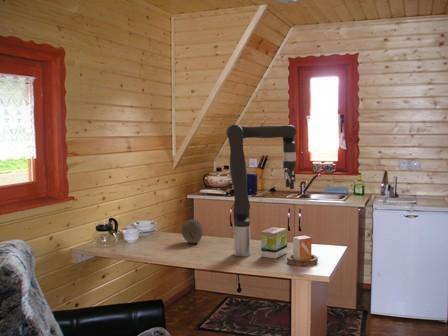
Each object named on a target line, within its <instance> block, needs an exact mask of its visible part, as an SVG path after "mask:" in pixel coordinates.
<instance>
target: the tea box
mask: <svg viewBox="0 0 448 336" xmlns="http://www.w3.org/2000/svg"><path fill="white" fill-rule="evenodd" d="M260 235H261V237H260V241H261V242H260V249H261V250H260V257H262V258H267V259H268V258H270V259H276V260H277V258H279V257H281V256H283V255H285V254H286V255H287V253H288V228H285V227H284V228H283V227H276V226H275V227H274V226H272V227H270V228H267V229H264V230H262V231H261V234H260Z"/></svg>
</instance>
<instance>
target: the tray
mask: <svg viewBox="0 0 448 336" xmlns="http://www.w3.org/2000/svg"><path fill="white" fill-rule="evenodd" d="M318 259H319V257H318V256H317V255H315V254H312V253H311V260H295V259H293V253H290V254H289V255H287V256H286V261H287V264H288V265H291V266H296V267H312V266H316V265H317V264H318Z"/></svg>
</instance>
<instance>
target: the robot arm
mask: <svg viewBox="0 0 448 336" xmlns="http://www.w3.org/2000/svg"><path fill="white" fill-rule="evenodd" d="M225 134H226V135H225V136H226V137H227V138H228V143H229V149H230V151H229V152H230V153H229V169H230V170H229V171H230V179H231V183H232V188H233V192H234V201H233V205H232V207H233V255H234V256H235V257H240V258H241V257H249V256H251V220H250V209H251V204H250V199H249V193H248V172H247V164H246V157H245V152H244V139H251V138H252V139H253V138H257V139H276V138H281V139H282V142H283V143H282V145H283V146H282V148H283V149H282V150H283V151H282V152H283V153H282V168H283V170H284V171H283V172H284V173H283V174H284V178H283V179H284V181H285V188H289V190H294V189H295V182H296V170H295V169H296V168H297V153H296V147H297V145H296V143H295V136H296V135H297V128H296V126H294V125H292V124H290V125H289V124H288V125H260V126H259V125H258V126H243V125H239V124H231V125H229V126H228V127H227V128H226V131H225Z"/></svg>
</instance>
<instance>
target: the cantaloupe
mask: <svg viewBox="0 0 448 336" xmlns="http://www.w3.org/2000/svg"><path fill="white" fill-rule="evenodd" d="M181 226H182V227H181V234H182V237H183V239H184V241H186V242H187V243H189V244H198V243H200V241H201V240H202V237H203V233H204V229H203V226H202V224H201V222H200V221H199V220H196V219H189V220H186V221H185V222H183V224H182V225H181Z"/></svg>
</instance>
